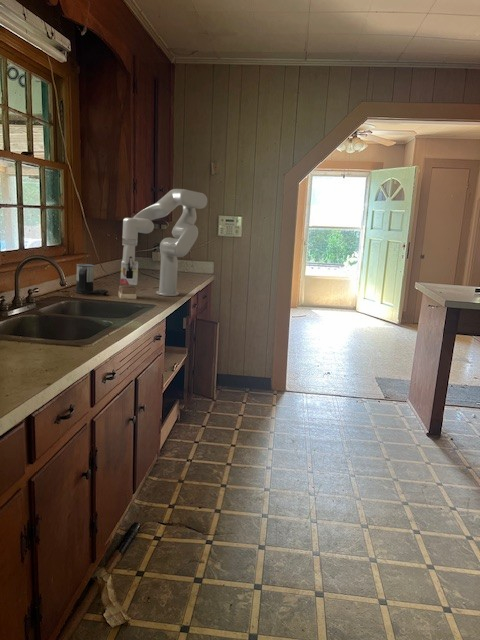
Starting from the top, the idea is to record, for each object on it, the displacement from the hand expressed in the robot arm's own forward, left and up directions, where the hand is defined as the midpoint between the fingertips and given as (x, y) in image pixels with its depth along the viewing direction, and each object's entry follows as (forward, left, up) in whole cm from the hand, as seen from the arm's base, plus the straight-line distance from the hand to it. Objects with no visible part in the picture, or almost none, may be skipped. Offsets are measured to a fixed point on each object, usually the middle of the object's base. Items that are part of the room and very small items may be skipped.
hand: (128, 277), depth 250 cm
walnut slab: (0, 0, -8) cm, 8 cm away
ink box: (0, 0, -4) cm, 4 cm away
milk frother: (-9, -17, -11) cm, 22 cm away
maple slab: (0, 0, -11) cm, 11 cm away
